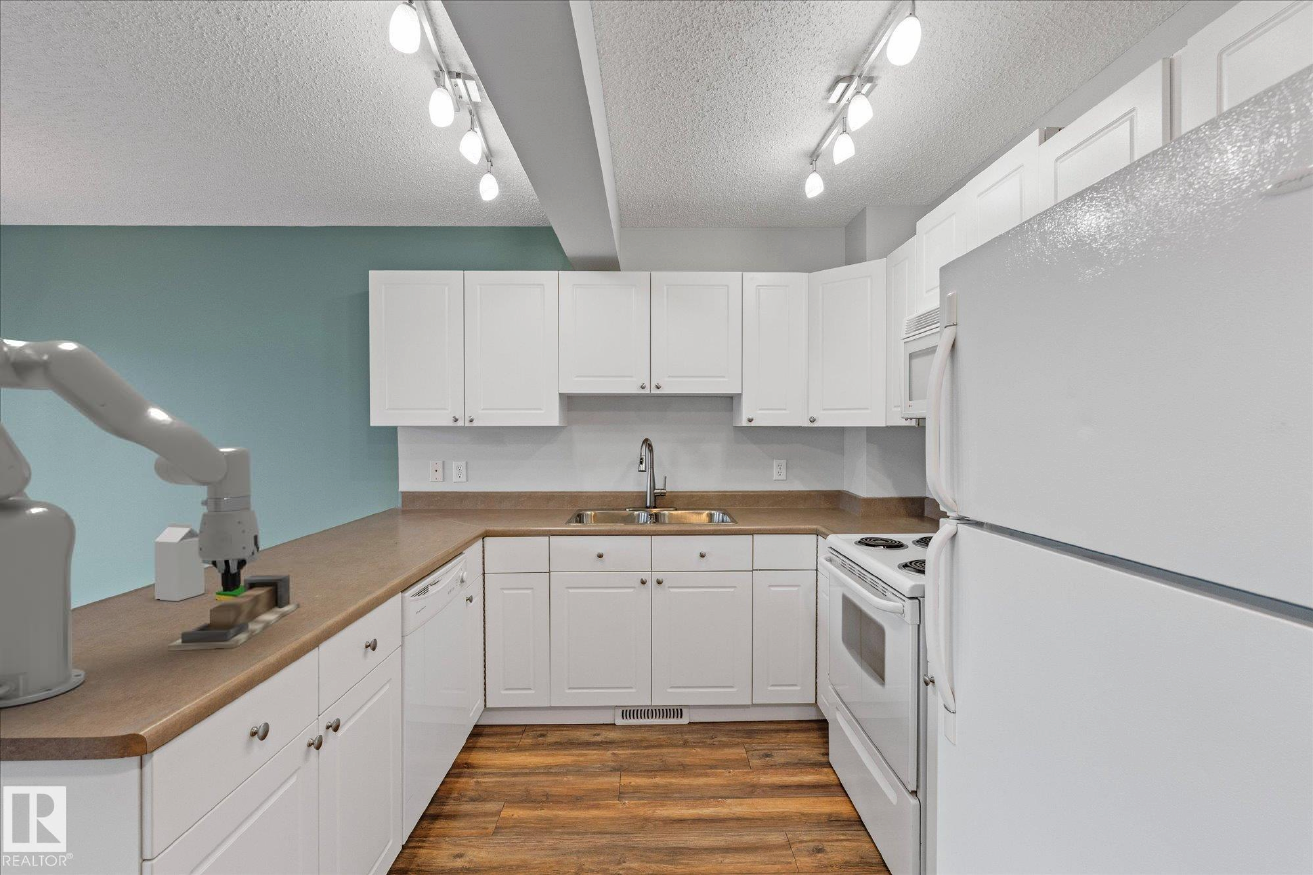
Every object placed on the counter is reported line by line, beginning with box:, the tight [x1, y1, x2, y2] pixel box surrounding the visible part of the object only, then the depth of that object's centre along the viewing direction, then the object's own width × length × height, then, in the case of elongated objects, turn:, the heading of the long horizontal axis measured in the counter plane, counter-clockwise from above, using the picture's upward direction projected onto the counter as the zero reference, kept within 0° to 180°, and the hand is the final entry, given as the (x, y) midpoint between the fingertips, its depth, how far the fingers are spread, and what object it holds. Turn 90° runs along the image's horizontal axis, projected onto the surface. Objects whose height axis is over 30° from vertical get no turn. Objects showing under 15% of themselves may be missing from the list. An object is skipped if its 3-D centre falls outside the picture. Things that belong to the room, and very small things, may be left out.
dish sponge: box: [215, 584, 244, 602], centre depth 149 cm, size 7×14×2 cm, turn 74°
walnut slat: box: [209, 586, 276, 631], centre depth 130 cm, size 18×4×5 cm, turn 7°
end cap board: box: [167, 574, 301, 652], centre depth 129 cm, size 27×12×8 cm, turn 7°
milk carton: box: [154, 522, 206, 602], centre depth 150 cm, size 7×7×19 cm
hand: (231, 589), depth 125 cm, fingers closed
